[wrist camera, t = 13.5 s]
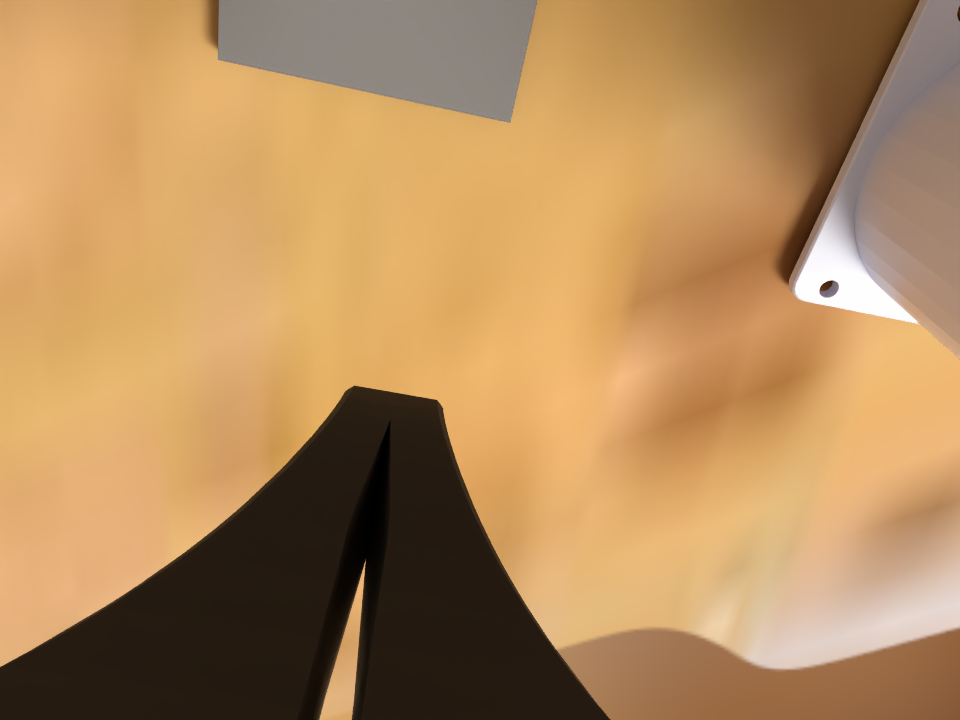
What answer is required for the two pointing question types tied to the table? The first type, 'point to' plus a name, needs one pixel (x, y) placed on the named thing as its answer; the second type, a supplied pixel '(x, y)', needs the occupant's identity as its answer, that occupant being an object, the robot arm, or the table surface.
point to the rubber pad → (389, 47)
